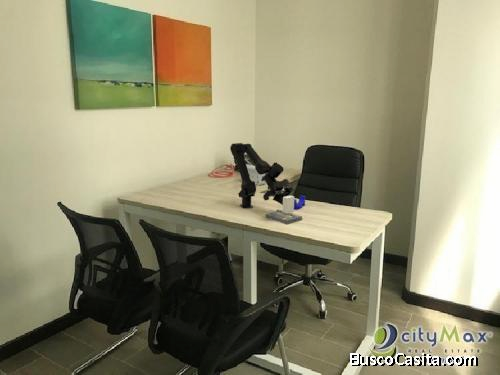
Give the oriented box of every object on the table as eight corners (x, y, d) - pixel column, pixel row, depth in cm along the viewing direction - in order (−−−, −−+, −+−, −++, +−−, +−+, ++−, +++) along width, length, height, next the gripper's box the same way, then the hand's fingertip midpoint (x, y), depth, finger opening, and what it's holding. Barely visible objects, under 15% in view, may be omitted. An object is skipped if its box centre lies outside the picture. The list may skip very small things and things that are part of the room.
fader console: (265, 217, 222) (265, 211, 221) (280, 213, 229) (281, 207, 229) (286, 224, 210) (286, 218, 209) (301, 219, 218) (302, 214, 217)
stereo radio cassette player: (266, 184, 303) (266, 158, 299) (258, 186, 298) (259, 159, 293) (246, 180, 318) (246, 155, 313) (239, 181, 312) (239, 156, 307)
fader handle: (282, 216, 216) (283, 197, 214) (289, 214, 220) (290, 195, 217) (286, 217, 214) (287, 198, 212) (293, 215, 218) (294, 196, 215)
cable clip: (297, 210, 237) (297, 200, 236) (290, 209, 239) (290, 199, 238) (307, 206, 246) (307, 196, 245) (300, 204, 249) (300, 195, 248)
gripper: (267, 176, 211) (281, 200, 206) (291, 172, 223) (305, 195, 218) (256, 188, 219) (270, 212, 213) (280, 183, 231) (294, 206, 225)
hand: (285, 206), depth 217 cm, fingers closed, pressing on fader handle
